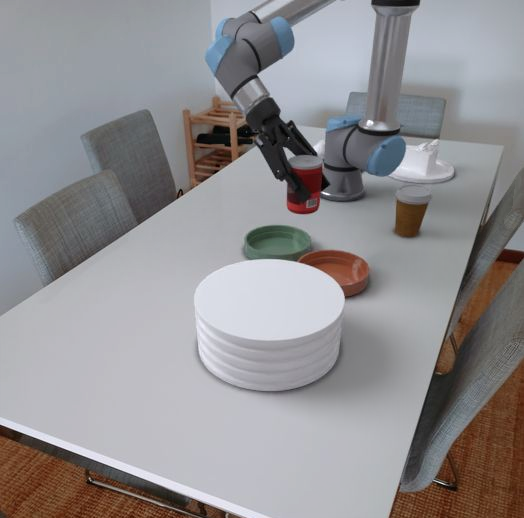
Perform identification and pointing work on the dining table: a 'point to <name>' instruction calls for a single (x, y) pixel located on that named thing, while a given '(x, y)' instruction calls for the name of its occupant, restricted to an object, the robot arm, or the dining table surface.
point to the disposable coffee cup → (411, 209)
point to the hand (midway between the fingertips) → (316, 194)
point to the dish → (423, 165)
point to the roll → (320, 149)
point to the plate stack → (269, 323)
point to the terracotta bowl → (340, 268)
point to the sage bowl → (277, 243)
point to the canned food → (306, 183)
